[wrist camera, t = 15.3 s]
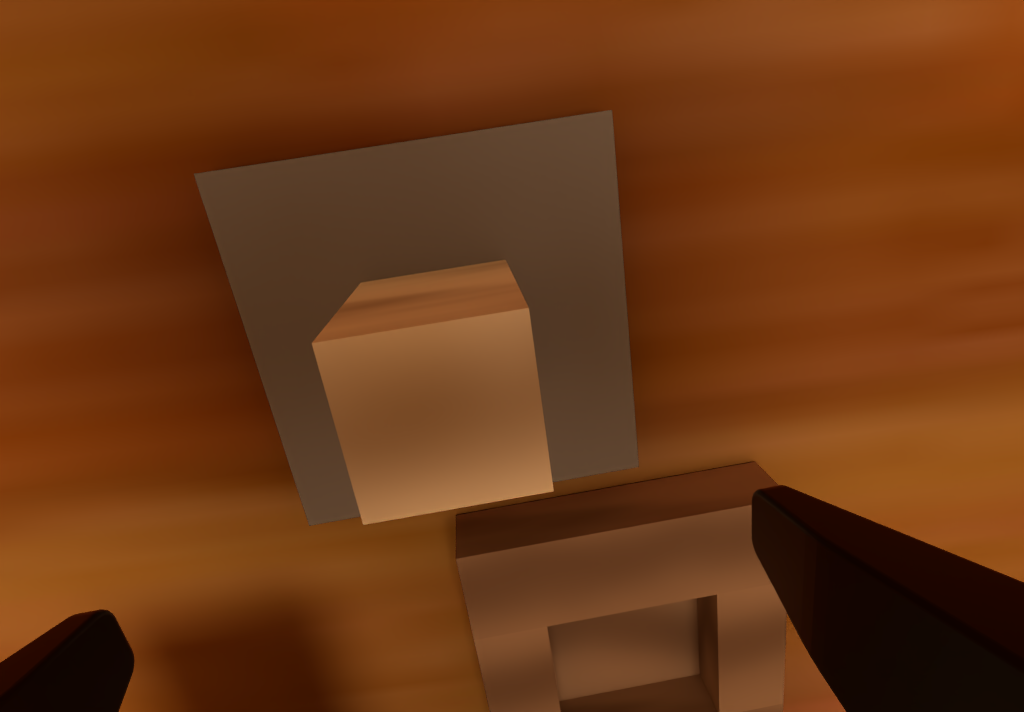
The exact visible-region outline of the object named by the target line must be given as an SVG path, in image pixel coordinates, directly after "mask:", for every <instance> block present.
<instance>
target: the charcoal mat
mask: <svg viewBox="0 0 1024 712" xmlns="http://www.w3.org/2000/svg"><path fill="white" fill-rule="evenodd" d="M194 176H195V179H196V182H197V186H198V189H199V192H200V195H201V198H202V201H203V204H204V207H205V210H206V213H207V216H208V219H209V222H210V225H211V228H212V231H213V234H214V237H215V240H216V243H217V246H218V249H219V252H220V255H221V259H222V262H223V265H224V268H225V271H226V274H227V277H228V280H229V283H230V286H231V289H232V292H233V295H234V298H235V301H236V304H237V307H238V310H239V313H240V316H241V319H242V322H243V325H244V328H245V331H246V335H247V338H248V341H249V344H250V347H251V350H252V353H253V356H254V359H255V362H256V365H257V368H258V371H259V374H260V377H261V380H262V383H263V386H264V389H265V392H266V395H267V398H268V401H269V404H270V408H271V411H272V414H273V417H274V420H275V423H276V426H277V429H278V432H279V435H280V438H281V441H282V444H283V447H284V450H285V453H286V456H287V459H288V462H289V465H290V468H291V471H292V474H293V477H294V480H295V484H296V487H297V490H298V493H299V496H300V499H301V502H302V505H303V508H304V511H305V514H306V517H307V520H308V523H309V526H310V525H316V524H322V523H327V522H333V521H338V520H344V519H350V518H355V517H361V515H360V512H359V508H358V505H357V501H356V498H355V494H354V491H353V487H352V484H351V480H350V477H349V473H348V470H347V466H346V463H345V459H344V455H343V452H342V448H341V445H340V441H339V438H338V434H337V431H336V427H335V424H334V420H333V417H332V413H331V410H330V406H329V403H328V399H327V396H326V392H325V389H324V385H323V382H322V378H321V375H320V371H319V367H318V364H317V360H316V357H315V353H314V350H313V346H312V342H313V341H314V340H315V339H316V337H317V336H318V335H319V334H320V332H321V331H322V330H323V329H324V327H325V326H326V325H327V324H328V322H329V321H330V320H331V319H332V318H333V316H334V315H335V314H336V313H337V311H338V310H339V309H340V308H341V306H342V305H343V304H344V303H345V301H346V300H347V299H348V298H349V297H350V295H351V294H352V293H353V292H354V290H355V289H356V288H357V287H358V285H359V284H360V283H362V282H368V281H374V280H381V279H387V278H393V277H399V276H406V275H412V274H418V273H424V272H431V271H437V270H443V269H450V268H456V267H462V266H468V265H475V264H481V263H487V262H494V261H500V260H506V262H507V264H508V266H509V268H510V270H511V272H512V274H513V276H514V278H515V280H516V282H517V284H518V287H519V289H520V291H521V293H522V295H523V297H524V299H525V301H526V303H527V305H528V307H529V313H530V320H531V327H532V335H533V342H534V350H535V357H536V364H537V372H538V379H539V386H540V394H541V401H542V408H543V416H544V423H545V430H546V438H547V445H548V452H549V460H550V467H551V474H552V482H557V481H563V480H568V479H574V478H579V477H585V476H591V475H596V474H602V473H607V472H613V471H619V470H624V469H630V468H635V467H639V461H638V448H637V435H636V422H635V408H634V395H633V382H632V368H631V355H630V342H629V329H628V315H627V302H626V289H625V275H624V262H623V249H622V236H621V222H620V209H619V196H618V182H617V169H616V156H615V142H614V129H613V116H612V110H608V111H602V112H595V113H589V114H582V115H576V116H569V117H563V118H556V119H550V120H543V121H537V122H530V123H524V124H517V125H510V126H504V127H497V128H491V129H484V130H478V131H471V132H465V133H458V134H452V135H445V136H439V137H432V138H425V139H419V140H412V141H406V142H399V143H393V144H386V145H380V146H373V147H367V148H360V149H354V150H347V151H341V152H334V153H327V154H321V155H314V156H308V157H301V158H295V159H288V160H282V161H275V162H269V163H262V164H256V165H249V166H243V167H236V168H229V169H223V170H216V171H210V172H203V173H197V174H194Z"/></svg>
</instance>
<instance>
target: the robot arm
mask: <svg viewBox="0 0 1024 712" xmlns="http://www.w3.org/2000/svg"><path fill="white" fill-rule="evenodd" d="M752 544H753V547H754V550H755V553H756V555H757V557H758V559H759V561H760V563H761V565H762V566H763V568H764V570H765V572H766V574H767V576H768V578H769V580H770V582H771V584H772V585H773V587H774V589H775V591H776V593H777V595H778V597H779V599H780V601H781V603H782V604H783V606H784V608H785V610H786V612H787V614H788V616H789V618H790V620H791V622H792V623H793V625H794V627H795V629H796V631H797V633H798V635H799V637H800V639H801V640H802V642H803V644H804V646H805V648H806V649H807V651H808V653H809V655H810V656H811V658H812V660H813V661H814V663H815V664H816V666H817V668H818V669H819V671H820V672H821V674H822V676H823V677H824V679H825V680H826V682H827V683H828V685H829V686H830V688H831V689H832V691H833V692H834V694H835V695H836V697H837V698H838V700H839V701H840V703H841V704H842V706H843V707H844V709H845V710H846V712H1024V582H1021V581H1019V580H1016V579H1014V578H1011V577H1009V576H1007V575H1004V574H1002V573H999V572H997V571H994V570H992V569H989V568H987V567H984V566H982V565H979V564H977V563H975V562H972V561H970V560H967V559H965V558H962V557H960V556H957V555H955V554H952V553H950V552H947V551H945V550H942V549H940V548H938V547H935V546H933V545H930V544H928V543H925V542H923V541H920V540H918V539H915V538H913V537H910V536H908V535H906V534H903V533H901V532H898V531H896V530H893V529H891V528H888V527H886V526H883V525H881V524H878V523H876V522H873V521H871V520H869V519H866V518H864V517H861V516H859V515H856V514H854V513H851V512H849V511H846V510H844V509H841V508H839V507H837V506H834V505H832V504H829V503H827V502H824V501H822V500H819V499H817V498H814V497H812V496H809V495H807V494H804V493H802V492H800V491H797V490H795V489H792V488H790V487H787V486H784V485H778V486H772V487H767V488H762V489H758V490H756V491H755V492H754V493H753V496H752ZM133 669H134V654H133V651H132V649H131V647H130V645H129V643H128V641H127V639H126V637H125V635H124V633H123V631H122V629H121V627H120V626H119V624H118V622H117V620H116V618H115V616H114V615H113V614H112V613H111V612H110V611H108V610H96V611H90V612H85V613H79V614H75V615H73V616H70V617H69V618H67V619H65V620H64V621H62V622H61V623H59V624H58V625H56V626H55V627H53V628H52V629H50V630H49V631H47V632H46V633H44V634H43V635H41V636H40V637H38V638H37V639H35V640H34V641H32V642H31V643H29V644H28V645H26V646H25V647H23V648H22V649H20V650H19V651H17V652H16V653H14V654H13V655H11V656H10V657H8V658H7V659H5V660H4V661H2V662H1V663H0V712H119V709H120V706H121V704H122V701H123V698H124V695H125V693H126V690H127V687H128V684H129V682H130V679H131V676H132V673H133Z"/></svg>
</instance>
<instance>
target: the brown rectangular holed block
mask: <svg viewBox="0 0 1024 712" xmlns="http://www.w3.org/2000/svg"><path fill="white" fill-rule="evenodd" d="M772 486H778V484H777V483H776V482H775V481H774V480H773V479H772V478H771V477H770V476H769V475H768V474H767V473H766V472H765V471H764V470H763V469H762V468H761V467H760V466H759V465H758V464H757V463H756V462H750V463H744V464H739V465H733V466H728V467H722V468H717V469H711V470H705V471H700V472H694V473H689V474H683V475H678V476H672V477H666V478H661V479H655V480H650V481H644V482H639V483H633V484H627V485H622V486H616V487H611V488H605V489H600V490H594V491H588V492H583V493H577V494H572V495H566V496H561V497H555V498H549V499H544V500H538V501H533V502H527V503H522V504H516V505H511V506H505V507H499V508H494V509H488V510H483V511H477V512H472V513H466V514H460V515H456V562H457V566H458V571H459V575H460V580H461V584H462V589H463V593H464V598H465V602H466V607H467V611H468V616H469V620H470V625H471V629H472V634H473V638H474V643H475V647H476V651H477V656H478V660H479V665H480V669H481V674H482V678H483V683H484V687H485V692H486V696H487V701H488V705H489V710H490V712H783V701H784V673H785V645H786V617H787V612H786V610H785V608H784V606H783V604H782V603H781V601H780V599H779V597H778V595H777V593H776V591H775V589H774V587H773V585H772V584H771V582H770V580H769V578H768V576H767V574H766V572H765V570H764V568H763V566H762V565H761V563H760V561H759V559H758V557H757V555H756V553H755V550H754V547H753V544H752V496H753V493H754V492H755V491H756V490H758V489H762V488H767V487H772Z"/></svg>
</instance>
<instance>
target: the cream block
mask: <svg viewBox="0 0 1024 712" xmlns="http://www.w3.org/2000/svg"><path fill="white" fill-rule="evenodd" d="M312 346H313V350H314V353H315V357H316V360H317V364H318V367H319V371H320V375H321V378H322V382H323V385H324V389H325V392H326V396H327V399H328V403H329V406H330V410H331V413H332V417H333V420H334V424H335V427H336V431H337V434H338V438H339V441H340V445H341V448H342V452H343V455H344V459H345V463H346V466H347V470H348V473H349V477H350V480H351V484H352V487H353V491H354V494H355V498H356V501H357V505H358V508H359V512H360V515H361V519H362V522H363V525H366V524H371V523H377V522H383V521H388V520H394V519H400V518H405V517H411V516H417V515H422V514H428V513H434V512H439V511H445V510H451V509H456V508H462V507H468V506H473V505H479V504H485V503H490V502H496V501H502V500H507V499H513V498H519V497H524V496H530V495H536V494H541V493H547V492H553V491H554V489H553V482H552V474H551V467H550V460H549V452H548V445H547V438H546V430H545V423H544V416H543V408H542V401H541V394H540V386H539V379H538V372H537V364H536V357H535V350H534V342H533V335H532V327H531V320H530V313H529V307H528V305H527V303H526V301H525V299H524V297H523V295H522V293H521V291H520V289H519V287H518V284H517V282H516V280H515V278H514V276H513V274H512V272H511V270H510V268H509V266H508V264H507V262H506V260H500V261H494V262H487V263H481V264H475V265H468V266H462V267H456V268H450V269H443V270H437V271H431V272H424V273H418V274H412V275H406V276H399V277H393V278H387V279H381V280H374V281H368V282H362V283H360V284H359V285H358V287H357V288H356V289H355V290H354V292H353V293H352V294H351V295H350V297H349V298H348V299H347V300H346V301H345V303H344V304H343V305H342V306H341V308H340V309H339V310H338V311H337V313H336V314H335V315H334V316H333V318H332V319H331V320H330V321H329V322H328V324H327V325H326V326H325V327H324V329H323V330H322V331H321V332H320V334H319V335H318V336H317V337H316V339H315V340H314V341H313V342H312Z"/></svg>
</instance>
